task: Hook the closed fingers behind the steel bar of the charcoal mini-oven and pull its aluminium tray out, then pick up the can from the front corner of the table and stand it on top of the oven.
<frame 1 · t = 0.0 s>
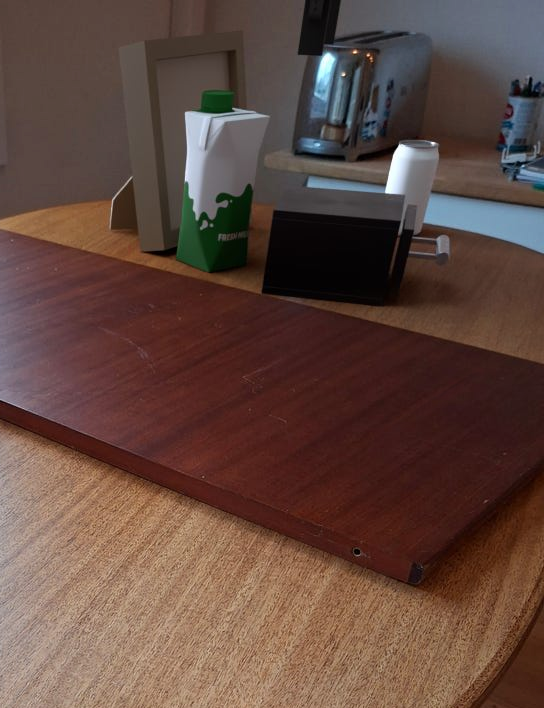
hand: (316, 49, 104), 25 cm above the table, tool pointing down, fingers open, 13 cm apart
can: (398, 233, 135), on the table
drawer: (371, 247, 111), point 5 cm above the table, slide at 0.5 cm
cabinet: (325, 283, 115), on the table
milk carton: (211, 264, 122), on the table
photo frame: (170, 234, 134), on the table
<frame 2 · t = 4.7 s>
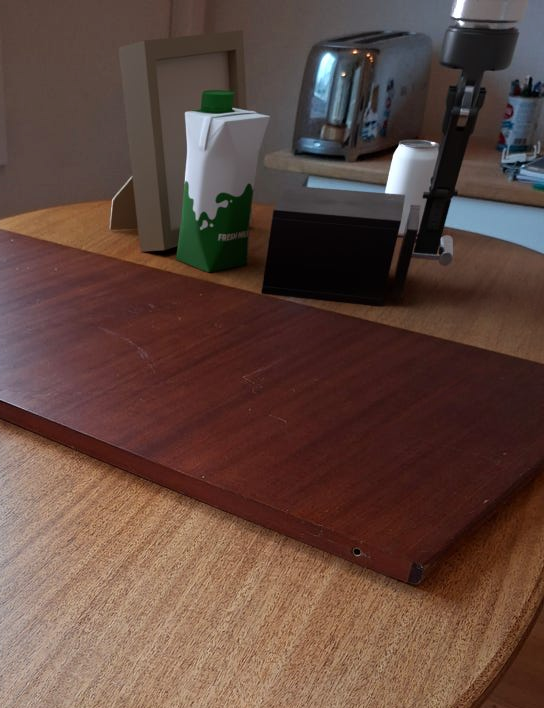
hand: (424, 254, 109), 5 cm above the table, tool pointing down, fingers closed
drawer: (374, 247, 110), point 5 cm above the table, slide at 0.9 cm, touching gripper
everything else where it was.
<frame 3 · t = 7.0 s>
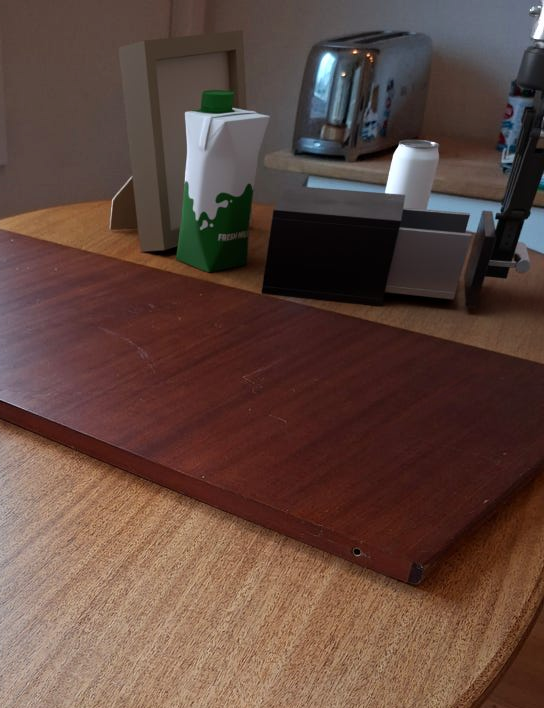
hand: (494, 275, 108), 3 cm above the table, tool pointing down, fingers closed
drawer: (446, 254, 108), point 5 cm above the table, slide at 9.5 cm, touching gripper
everything else where it was.
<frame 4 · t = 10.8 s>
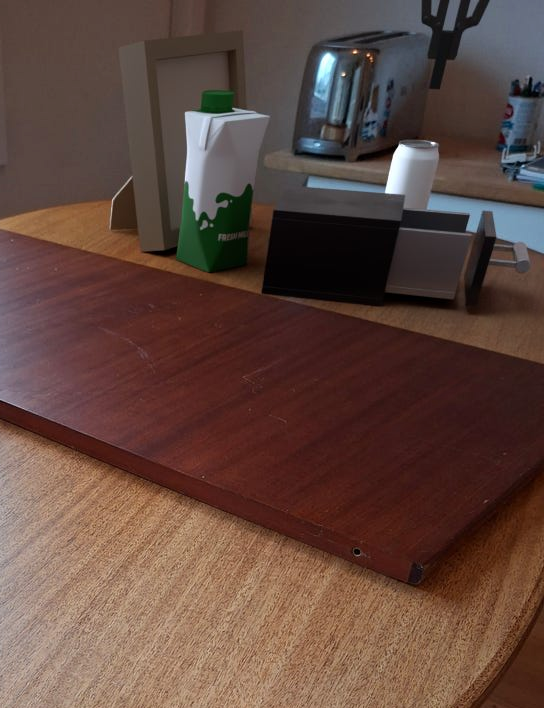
hand: (434, 87, 122), 19 cm above the table, tool pointing down, fingers closed
drawer: (446, 254, 108), point 5 cm above the table, slide at 9.5 cm
everything else where it was.
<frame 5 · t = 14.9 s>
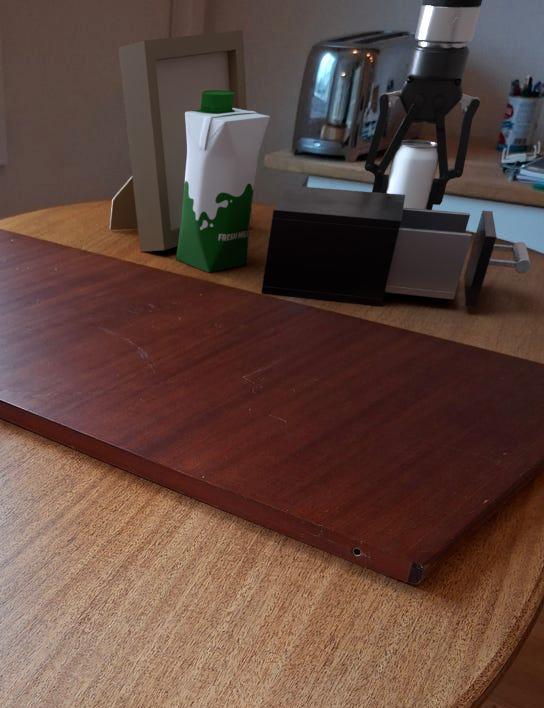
hand: (400, 224, 134), 1 cm above the table, tool pointing down, fingers closed on can, 6 cm apart
can: (398, 233, 135), on the table, touching gripper
everything else where it was.
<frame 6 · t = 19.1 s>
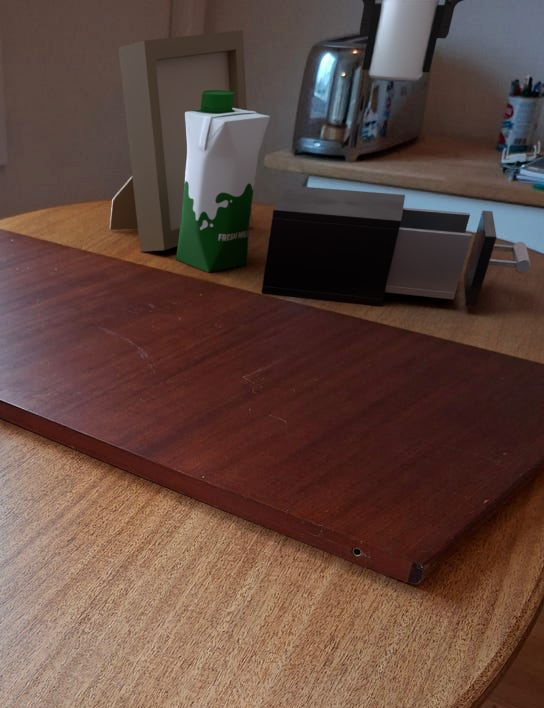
hand: (396, 69, 108), 23 cm above the table, tool pointing down, fingers closed on can, 6 cm apart
can: (393, 80, 108), point 22 cm above the table, touching gripper
everything else where it was.
when the fingers open (11 cm above the table, at t = 23.3 s): can stays where it is, resting on cabinet.
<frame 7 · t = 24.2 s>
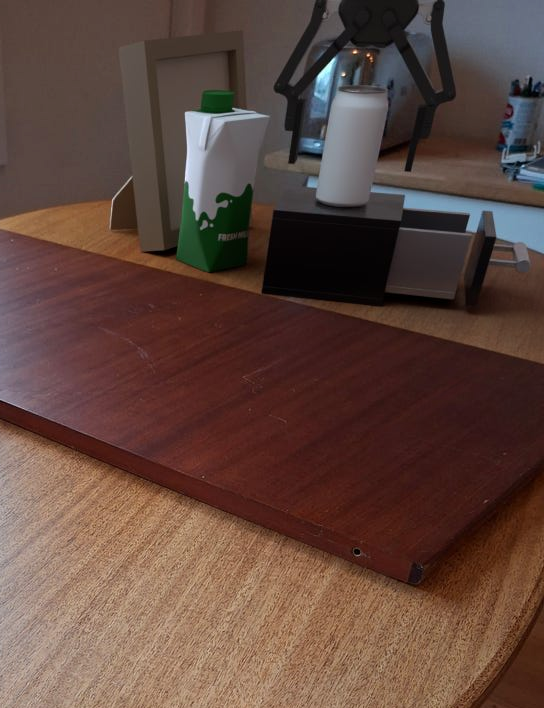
hand: (349, 166, 106), 14 cm above the table, tool pointing down, fingers open, 13 cm apart
can: (341, 203, 109), point 10 cm above the table, touching cabinet
everything else where it was.
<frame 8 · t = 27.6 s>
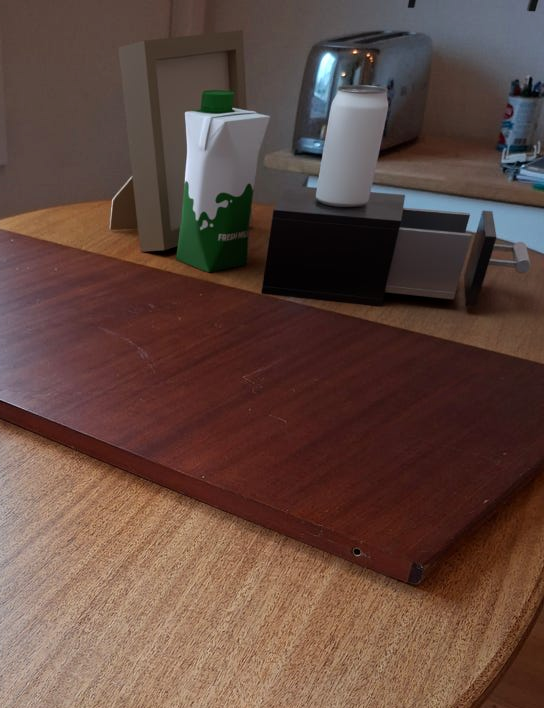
hand: (469, 9, 105), 29 cm above the table, tool pointing down, fingers open, 13 cm apart
nothing on the table moved.
at the end: drawer slide at 9.5 cm; can inside the target area on the cabinet (0.0 cm from its centre), point 9.6 cm above the cabinet's base; can tilted 0° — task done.
